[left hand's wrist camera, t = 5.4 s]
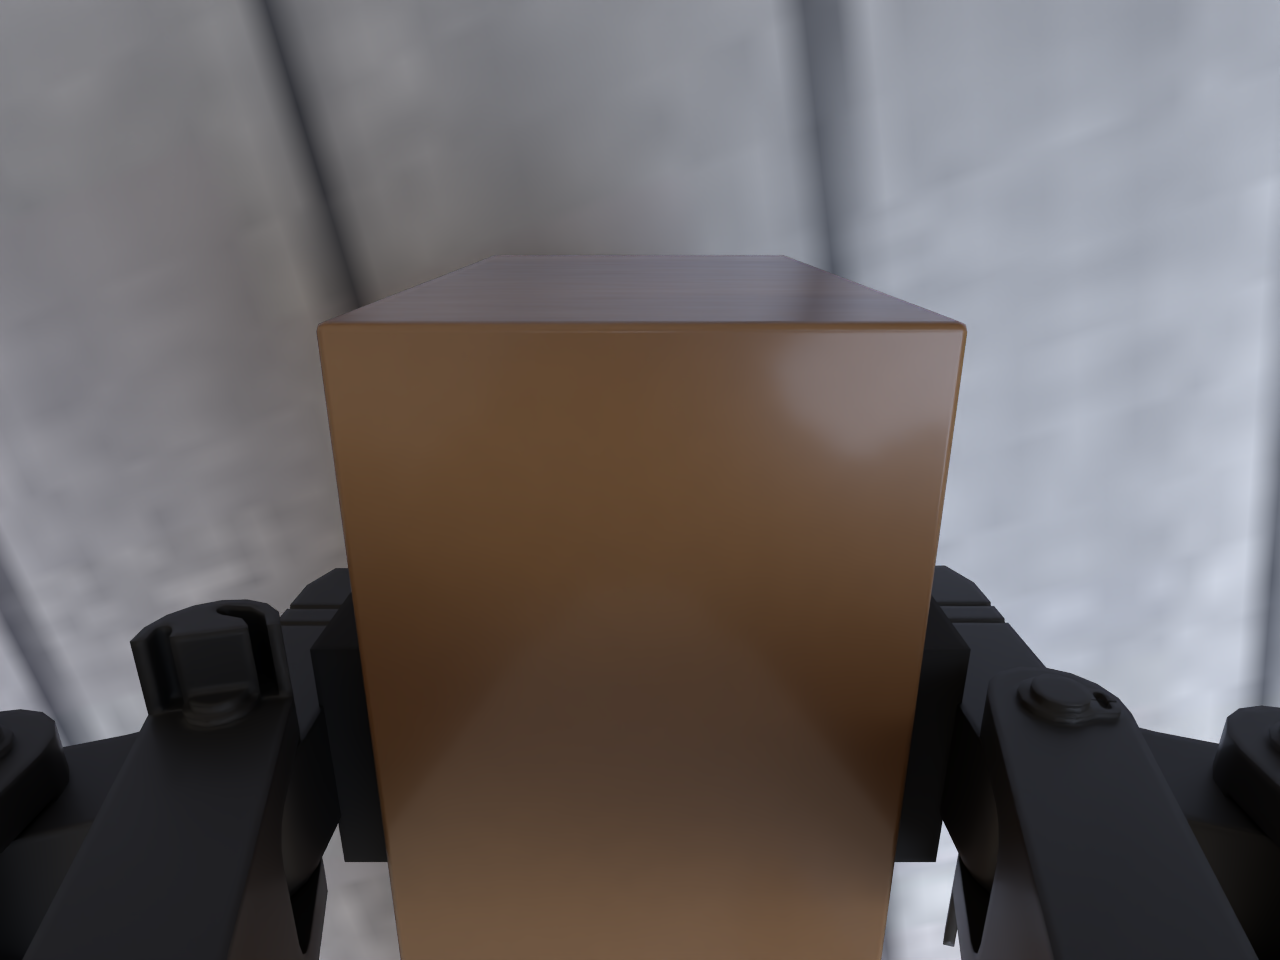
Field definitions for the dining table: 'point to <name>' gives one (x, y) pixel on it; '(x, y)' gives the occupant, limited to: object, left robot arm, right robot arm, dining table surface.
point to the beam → (641, 598)
